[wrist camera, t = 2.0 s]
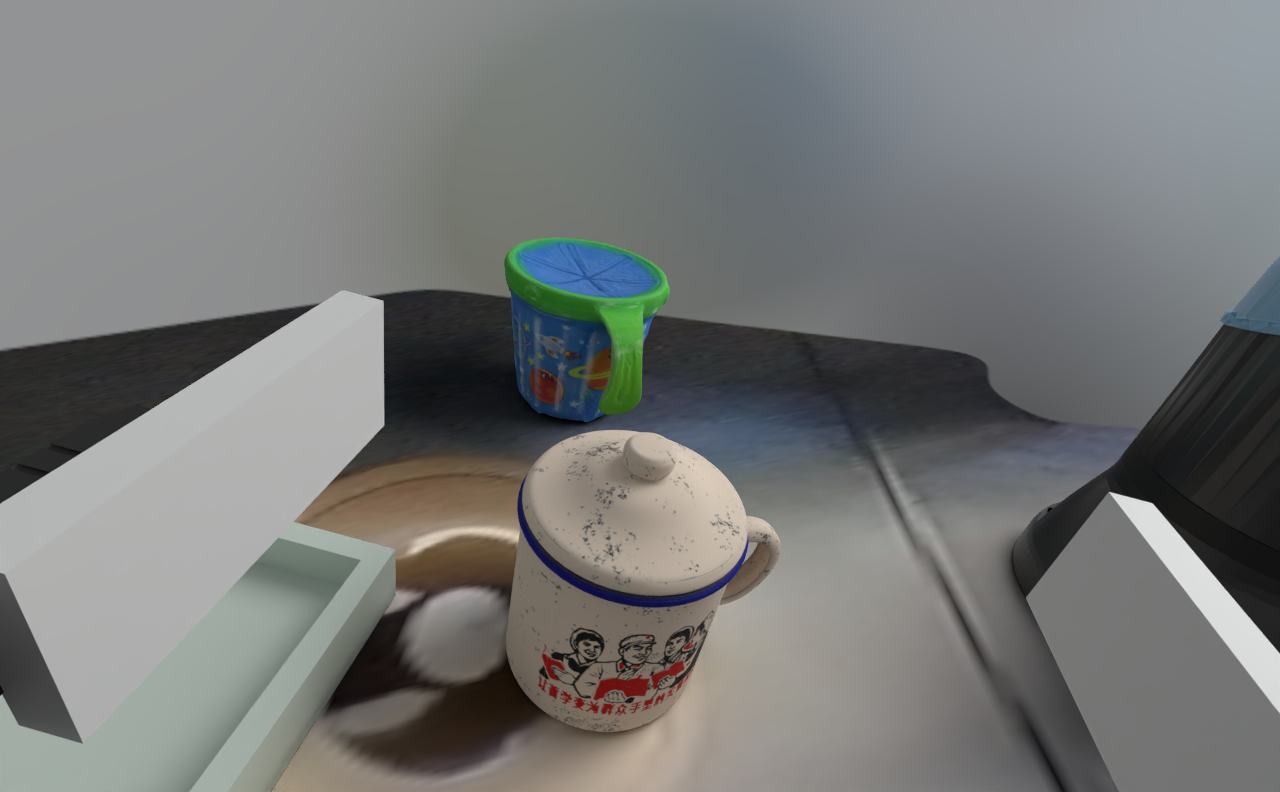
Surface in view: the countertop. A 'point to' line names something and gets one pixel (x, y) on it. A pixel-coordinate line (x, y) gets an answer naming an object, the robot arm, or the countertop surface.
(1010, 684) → the countertop surface
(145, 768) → the sage tray
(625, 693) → the teacup with lid
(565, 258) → the snack cup
